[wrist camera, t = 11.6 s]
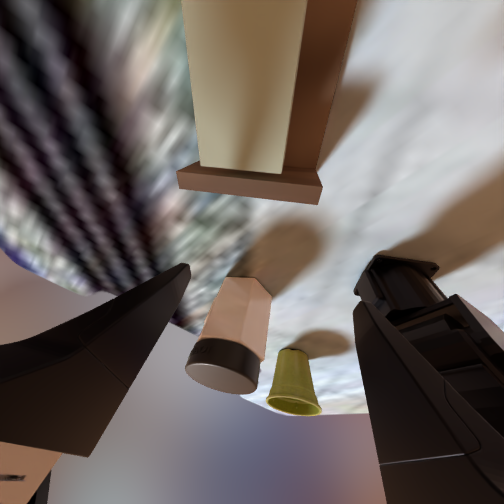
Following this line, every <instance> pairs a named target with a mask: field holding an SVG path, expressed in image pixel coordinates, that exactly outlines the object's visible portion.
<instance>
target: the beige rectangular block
mask: <svg viewBox="0 0 504 504" xmlns="http://www.w3.org/2000/svg"><path fill="white" fill-rule="evenodd" d="M307 1H308V0H181V2H182V11H183V19H184V28H185V36H186V45H187V53H188V62H189V70H190V79H191V88H192V96H193V105H194V113H195V122H196V130H197V139H198V148H199V156H200V165H201V166H206V167H216V168H226V169H236V170H246V171H256V172H266V173H276V174H281V173H282V168H283V164H284V159H285V152H286V145H287V138H288V131H289V124H290V118H291V111H292V104H293V97H294V90H295V83H296V76H297V70H298V63H299V56H300V49H301V42H302V35H303V28H304V21H305V15H306V8H307Z"/></svg>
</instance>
